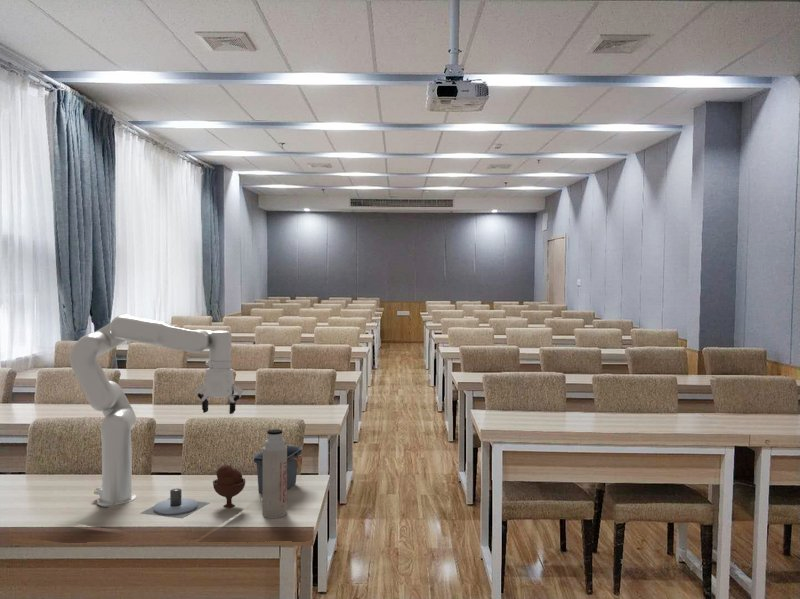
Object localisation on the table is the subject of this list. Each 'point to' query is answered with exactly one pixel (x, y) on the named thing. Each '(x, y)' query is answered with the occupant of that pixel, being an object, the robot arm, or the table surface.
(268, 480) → the thermos bottle
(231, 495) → the ice cream bowl
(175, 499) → the lid
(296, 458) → the storage bin
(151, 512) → the mat
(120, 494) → the robot arm
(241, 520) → the table surface
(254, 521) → the table surface
